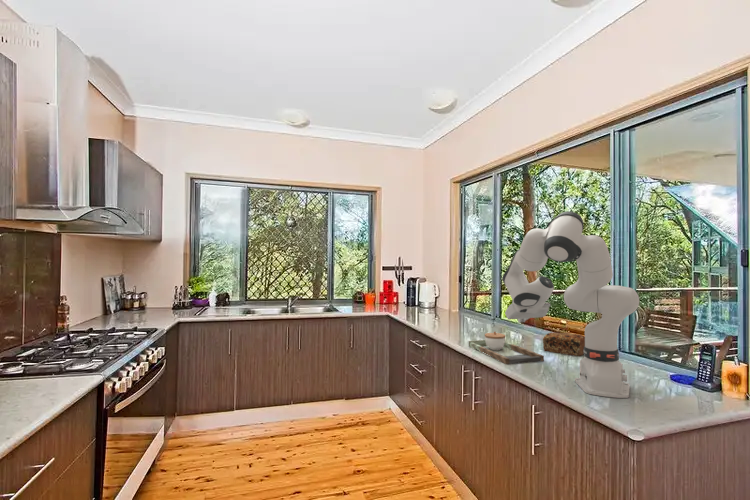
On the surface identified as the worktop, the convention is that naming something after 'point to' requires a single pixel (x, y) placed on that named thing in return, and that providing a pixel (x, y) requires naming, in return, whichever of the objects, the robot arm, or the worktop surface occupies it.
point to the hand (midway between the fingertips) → (520, 321)
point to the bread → (564, 343)
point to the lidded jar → (495, 340)
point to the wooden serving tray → (525, 358)
